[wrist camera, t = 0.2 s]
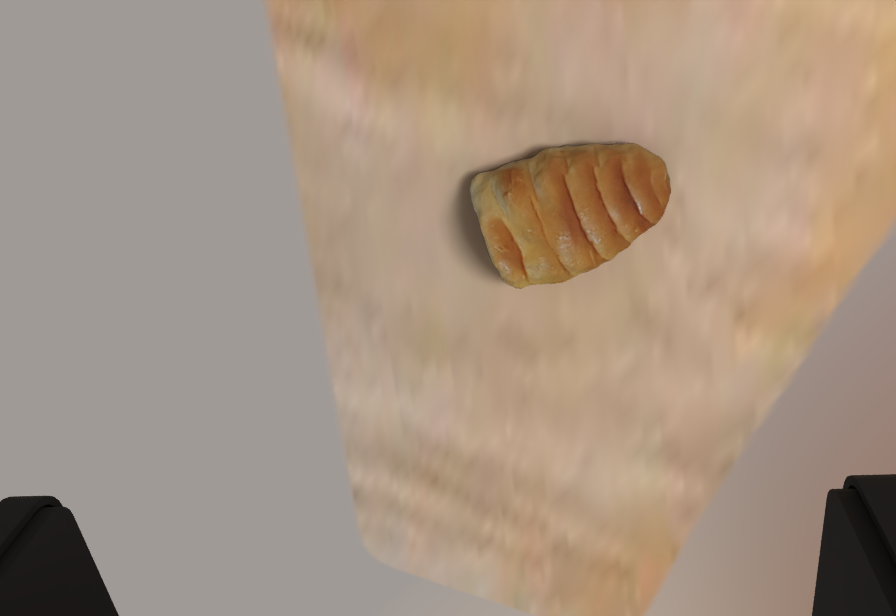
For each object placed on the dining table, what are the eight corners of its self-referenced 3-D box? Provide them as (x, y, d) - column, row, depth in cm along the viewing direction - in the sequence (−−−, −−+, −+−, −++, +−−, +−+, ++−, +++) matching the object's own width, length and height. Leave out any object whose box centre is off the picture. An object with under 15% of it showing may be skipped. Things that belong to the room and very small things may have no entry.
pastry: (643, 101, 37) (653, 124, 34) (685, 224, 40) (698, 257, 37) (460, 174, 40) (453, 202, 37) (512, 285, 43) (509, 320, 40)
